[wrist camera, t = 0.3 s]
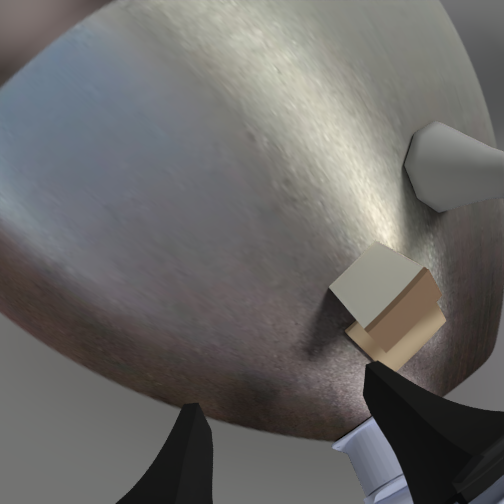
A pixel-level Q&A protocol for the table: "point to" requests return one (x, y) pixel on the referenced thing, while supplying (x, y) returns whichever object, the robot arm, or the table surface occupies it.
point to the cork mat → (406, 345)
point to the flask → (453, 168)
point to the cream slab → (386, 293)
